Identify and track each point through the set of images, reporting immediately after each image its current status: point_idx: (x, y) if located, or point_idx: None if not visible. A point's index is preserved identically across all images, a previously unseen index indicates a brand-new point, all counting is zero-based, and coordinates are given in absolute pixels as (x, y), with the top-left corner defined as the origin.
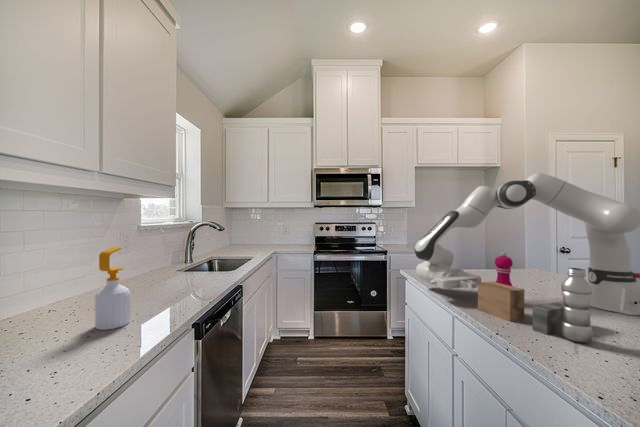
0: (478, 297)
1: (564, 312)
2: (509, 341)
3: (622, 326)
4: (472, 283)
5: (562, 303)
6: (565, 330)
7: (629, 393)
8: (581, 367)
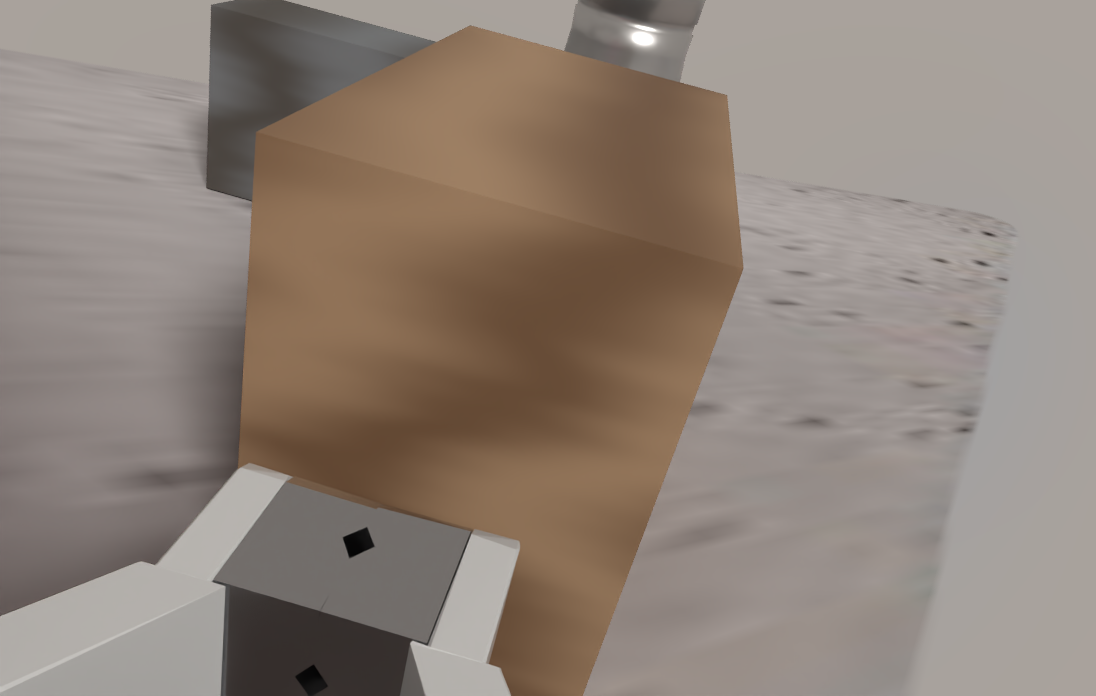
0: (637, 540)
1: (667, 74)
2: (979, 376)
3: (90, 78)
4: (383, 530)
5: (382, 42)
6: None
7: (880, 199)
8: (863, 234)
